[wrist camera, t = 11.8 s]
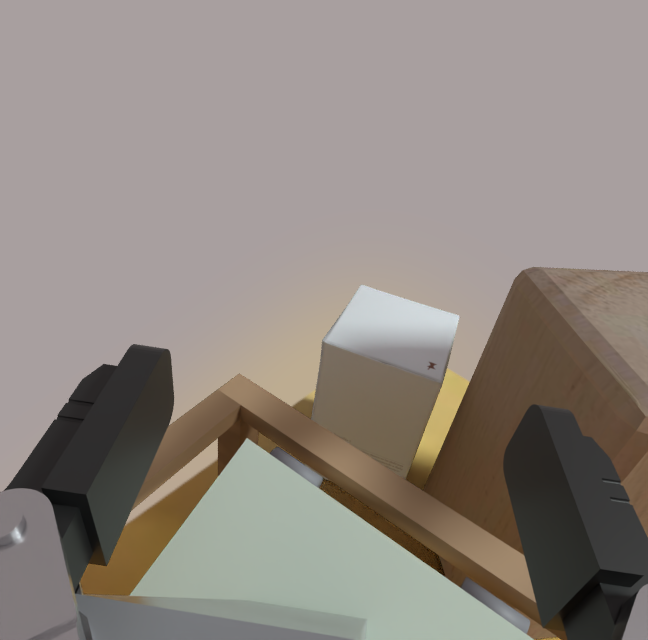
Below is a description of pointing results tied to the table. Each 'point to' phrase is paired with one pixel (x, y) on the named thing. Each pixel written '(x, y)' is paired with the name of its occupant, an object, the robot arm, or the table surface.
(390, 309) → the supplement box
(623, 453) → the wooden block
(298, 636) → the basalt block
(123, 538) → the table surface
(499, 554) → the stand
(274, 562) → the flap
